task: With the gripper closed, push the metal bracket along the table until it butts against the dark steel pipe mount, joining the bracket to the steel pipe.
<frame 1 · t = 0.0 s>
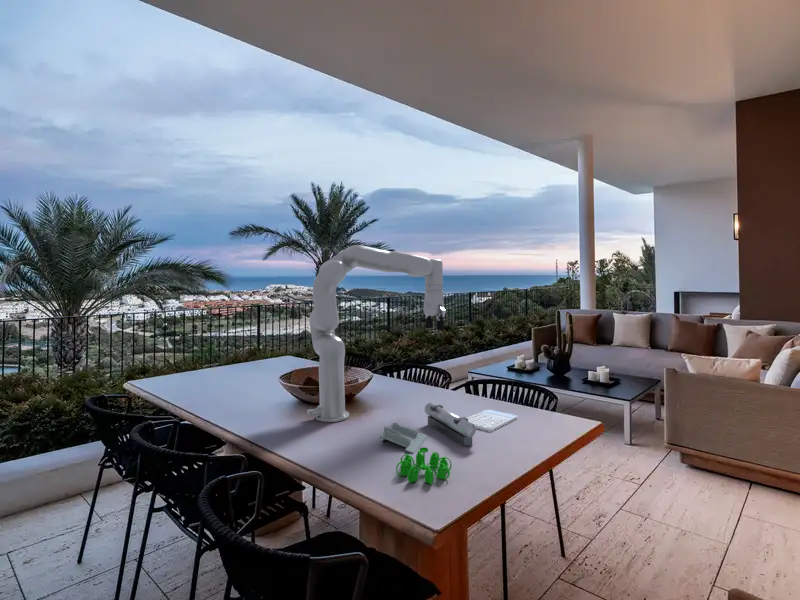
hand: (434, 329, 182), 31 cm above the table, tool pointing down, fingers open, 9 cm apart
calculator: (489, 423, 157), on the table
pipe mount: (448, 434, 144), on the table
chandelier: (424, 475, 114), on the table
metal bracket: (402, 444, 137), on the table
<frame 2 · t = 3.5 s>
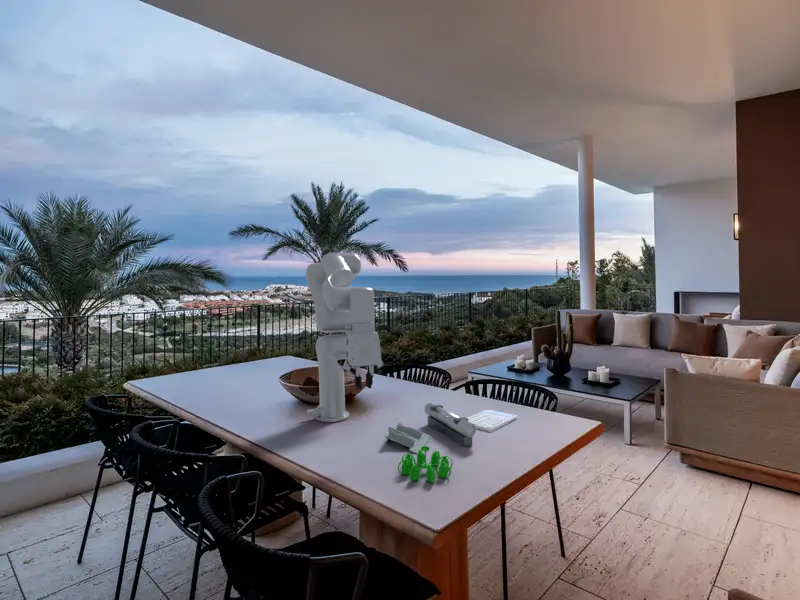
hand: (363, 387, 131), 19 cm above the table, tool pointing down, fingers closed
metal bracket: (406, 444, 137), on the table
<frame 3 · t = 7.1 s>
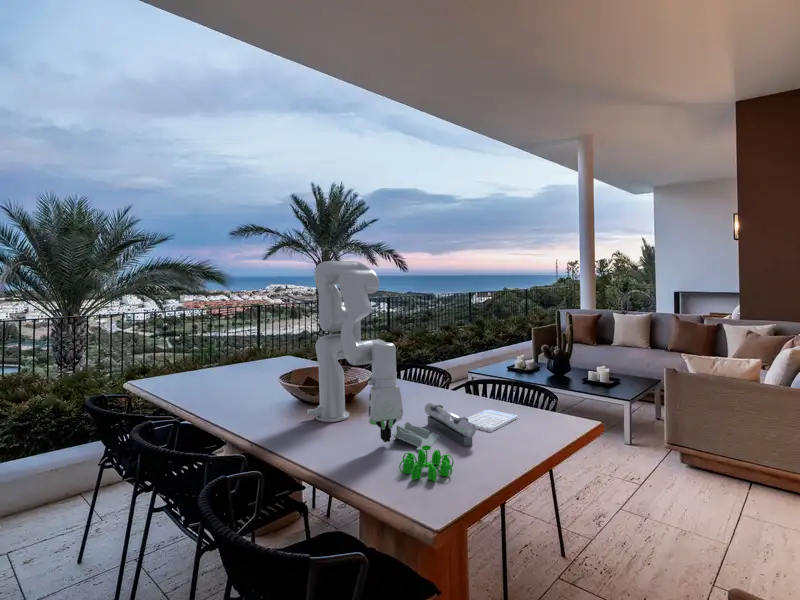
hand: (385, 440, 134), 2 cm above the table, tool pointing down, fingers closed
metal bracket: (414, 443, 138), on the table
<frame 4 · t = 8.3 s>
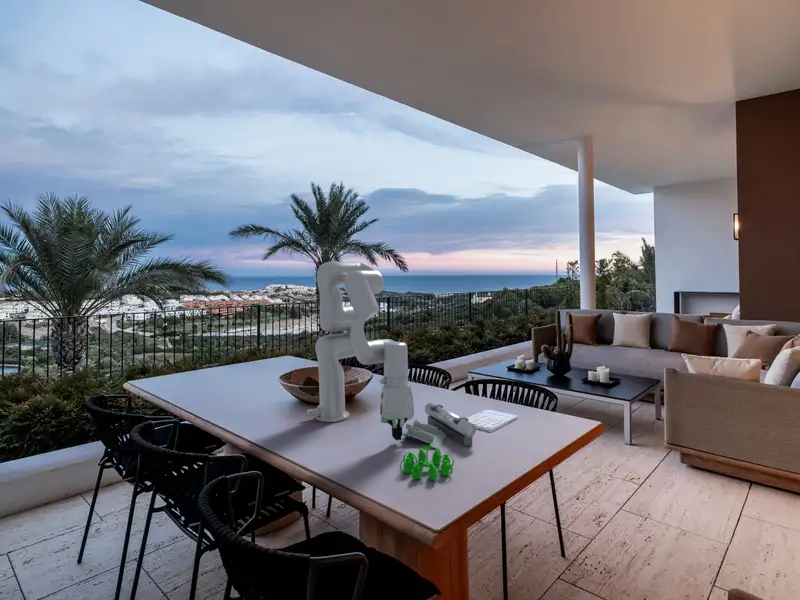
hand: (397, 438, 136), 2 cm above the table, tool pointing down, fingers closed
metal bracket: (424, 441, 139), on the table, touching gripper, pipe mount
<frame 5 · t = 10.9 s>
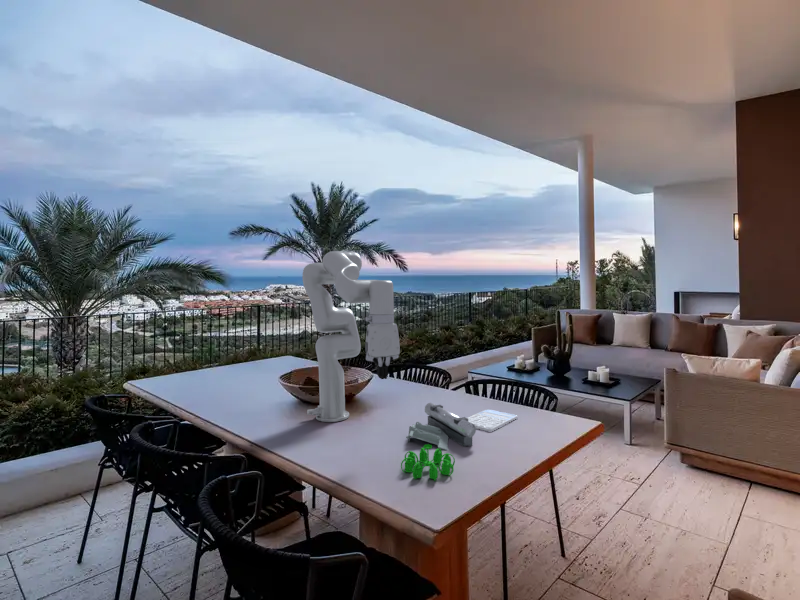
hand: (382, 378, 135), 21 cm above the table, tool pointing down, fingers closed
metal bracket: (428, 442, 138), on the table
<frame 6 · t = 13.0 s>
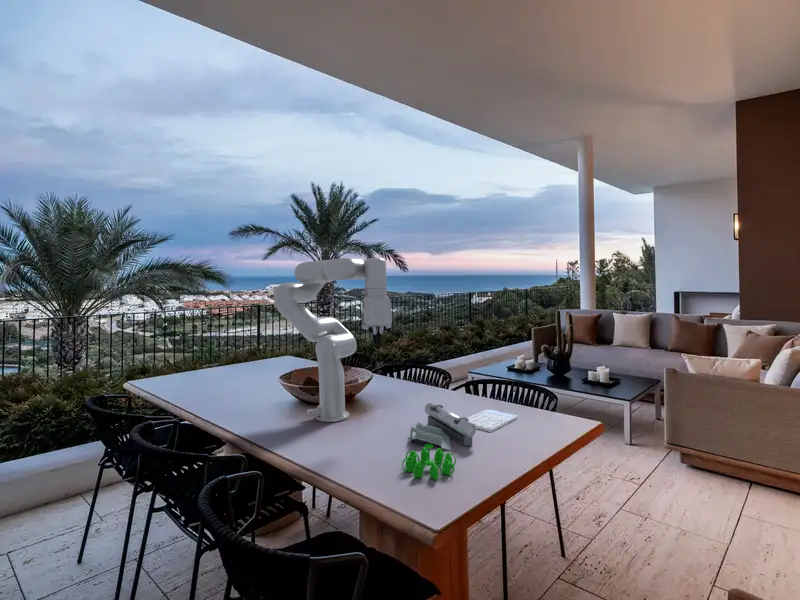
hand: (377, 345, 152), 29 cm above the table, tool pointing down, fingers closed
at the end: metal bracket inside the target area (3.2 cm from its centre), on the table; metal bracket moved 9.2 cm from its start; the gripper is holding nothing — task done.
